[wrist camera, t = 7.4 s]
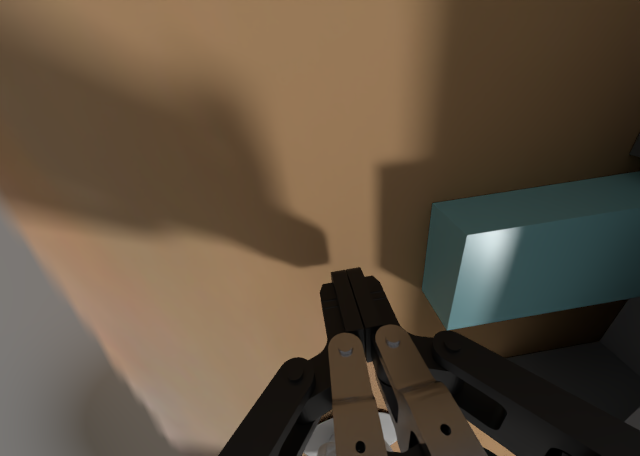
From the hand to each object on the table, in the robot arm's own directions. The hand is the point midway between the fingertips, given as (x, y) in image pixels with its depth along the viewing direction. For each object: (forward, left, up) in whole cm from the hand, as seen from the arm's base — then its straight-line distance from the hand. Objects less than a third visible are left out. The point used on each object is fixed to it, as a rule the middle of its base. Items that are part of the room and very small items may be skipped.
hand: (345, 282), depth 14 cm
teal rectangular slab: (-12, 0, -1) cm, 12 cm away
